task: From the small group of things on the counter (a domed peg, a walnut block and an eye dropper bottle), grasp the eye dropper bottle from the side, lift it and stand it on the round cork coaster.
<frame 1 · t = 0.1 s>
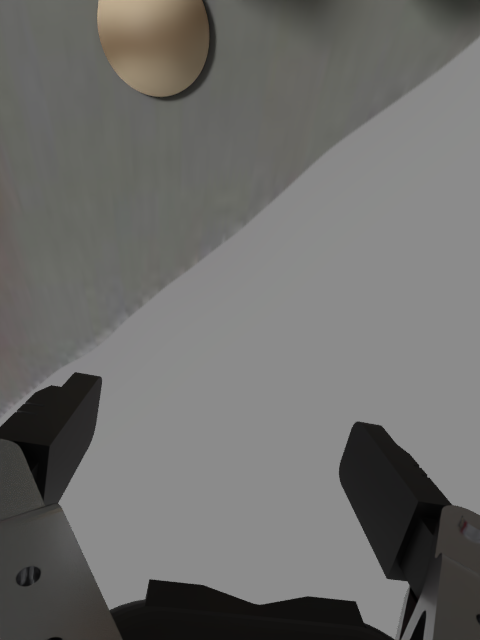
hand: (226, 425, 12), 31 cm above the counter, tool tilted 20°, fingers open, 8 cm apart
cork coaster: (155, 32, 31), on the counter
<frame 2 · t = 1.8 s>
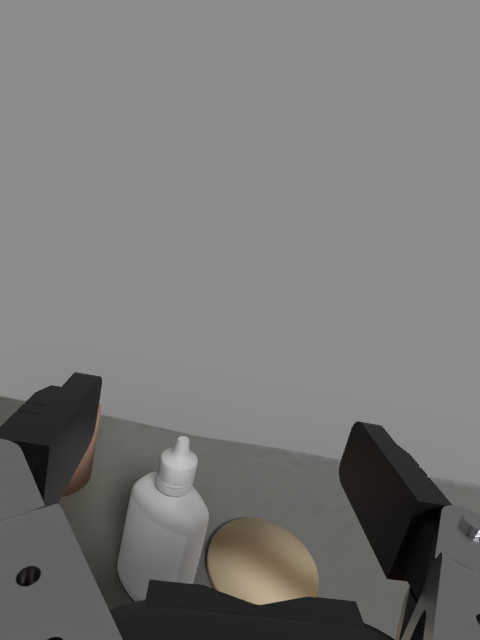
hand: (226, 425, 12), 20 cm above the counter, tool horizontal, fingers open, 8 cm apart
eye dropper bottle: (151, 586, 27), on the counter
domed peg: (56, 474, 34), on the counter
cork coaster: (261, 568, 30), on the counter
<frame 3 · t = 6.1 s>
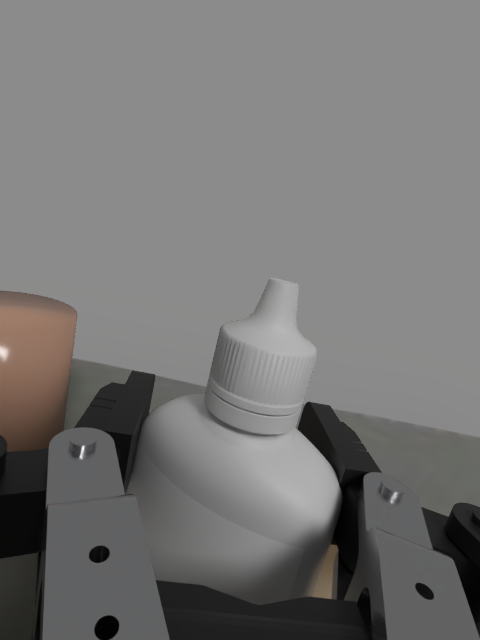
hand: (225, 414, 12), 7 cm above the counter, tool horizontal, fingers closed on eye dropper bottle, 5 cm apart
cork coaster: (397, 609, 15), on the counter
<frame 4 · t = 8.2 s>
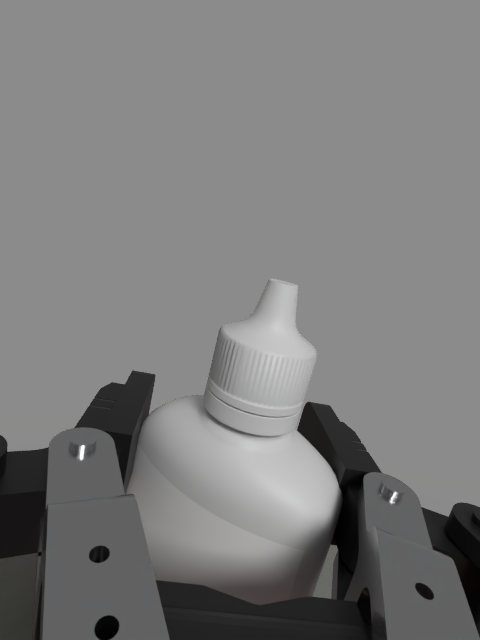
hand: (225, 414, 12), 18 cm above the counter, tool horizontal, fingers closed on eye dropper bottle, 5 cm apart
when the fingers open (9 cm above the counter, at t = 10.4 s): eye dropper bottle stays where it is, resting on cork coaster.
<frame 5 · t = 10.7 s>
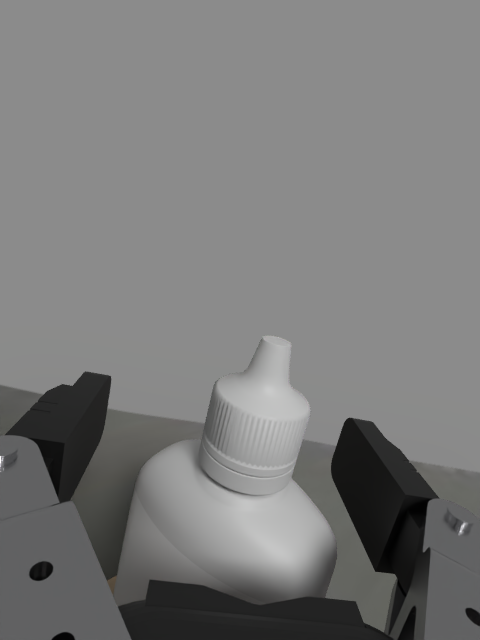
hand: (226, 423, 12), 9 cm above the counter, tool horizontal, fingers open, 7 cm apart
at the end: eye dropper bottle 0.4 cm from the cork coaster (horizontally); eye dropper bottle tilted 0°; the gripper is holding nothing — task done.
